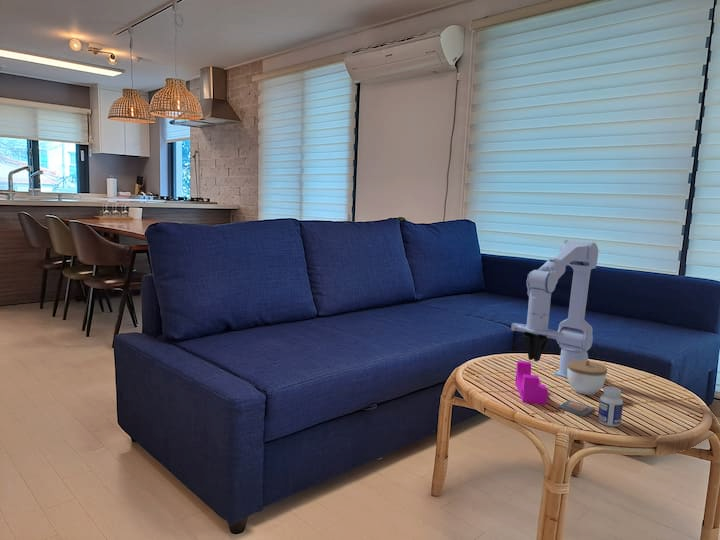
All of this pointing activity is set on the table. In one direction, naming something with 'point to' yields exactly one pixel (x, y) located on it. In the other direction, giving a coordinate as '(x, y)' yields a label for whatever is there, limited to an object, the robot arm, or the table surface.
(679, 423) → the table surface
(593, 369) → the lidded jar
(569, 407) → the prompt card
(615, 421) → the pill bottle
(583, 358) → the robot arm
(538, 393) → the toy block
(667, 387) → the table surface
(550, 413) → the table surface
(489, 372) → the table surface
